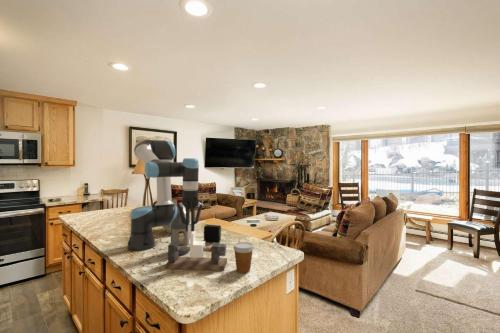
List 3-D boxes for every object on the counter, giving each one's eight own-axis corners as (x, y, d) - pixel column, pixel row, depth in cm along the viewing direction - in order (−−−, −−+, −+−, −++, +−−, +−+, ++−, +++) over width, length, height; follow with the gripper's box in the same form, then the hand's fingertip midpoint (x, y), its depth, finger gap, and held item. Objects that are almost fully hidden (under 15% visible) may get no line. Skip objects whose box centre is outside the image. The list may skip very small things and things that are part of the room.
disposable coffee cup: (233, 266, 120) (233, 241, 120) (252, 265, 121) (252, 241, 121) (233, 275, 111) (233, 248, 111) (254, 274, 112) (254, 248, 111)
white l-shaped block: (189, 257, 118) (190, 234, 118) (193, 252, 124) (193, 231, 124) (202, 257, 118) (202, 234, 118) (205, 253, 124) (205, 231, 124)
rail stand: (165, 268, 117) (165, 246, 117) (172, 260, 127) (173, 240, 127) (224, 270, 115) (224, 248, 115) (227, 262, 125) (227, 241, 125)
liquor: (170, 251, 140) (170, 198, 140) (186, 248, 144) (187, 197, 143) (172, 256, 132) (172, 200, 131) (189, 254, 136) (190, 199, 135)
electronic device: (218, 242, 155) (218, 227, 155) (203, 241, 157) (203, 226, 157) (220, 240, 159) (220, 225, 159) (206, 239, 161) (206, 224, 161)
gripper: (174, 190, 117) (174, 239, 117) (201, 190, 116) (201, 240, 117) (180, 188, 125) (179, 235, 125) (205, 189, 124) (205, 235, 124)
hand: (190, 237), depth 121 cm, fingers closed
